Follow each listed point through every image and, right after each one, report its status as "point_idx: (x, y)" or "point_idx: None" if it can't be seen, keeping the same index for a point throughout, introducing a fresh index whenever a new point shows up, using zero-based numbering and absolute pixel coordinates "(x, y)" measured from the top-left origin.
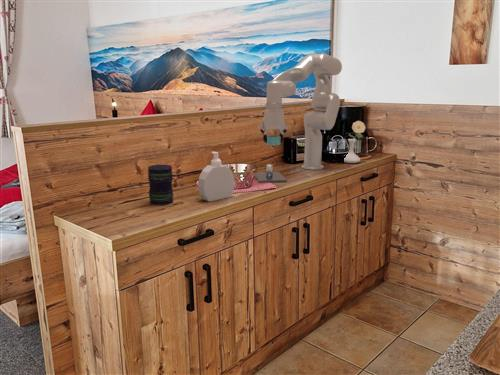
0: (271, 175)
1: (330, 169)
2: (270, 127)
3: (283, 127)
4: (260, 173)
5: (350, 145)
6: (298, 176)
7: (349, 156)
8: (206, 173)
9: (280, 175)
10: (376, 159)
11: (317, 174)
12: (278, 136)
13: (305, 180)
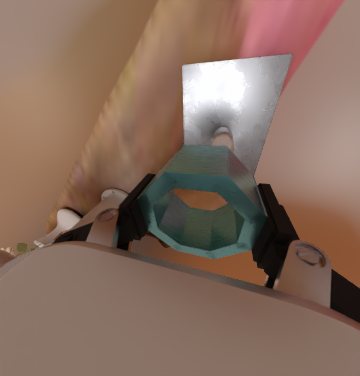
0: (218, 129)
1: (92, 186)
2: (270, 362)
3: (18, 265)
4: None
5: (51, 236)
6: (146, 141)
7: (66, 220)
8: None
9: (189, 139)
10: (51, 220)
11: (108, 153)
12: (154, 214)
13: (130, 88)
